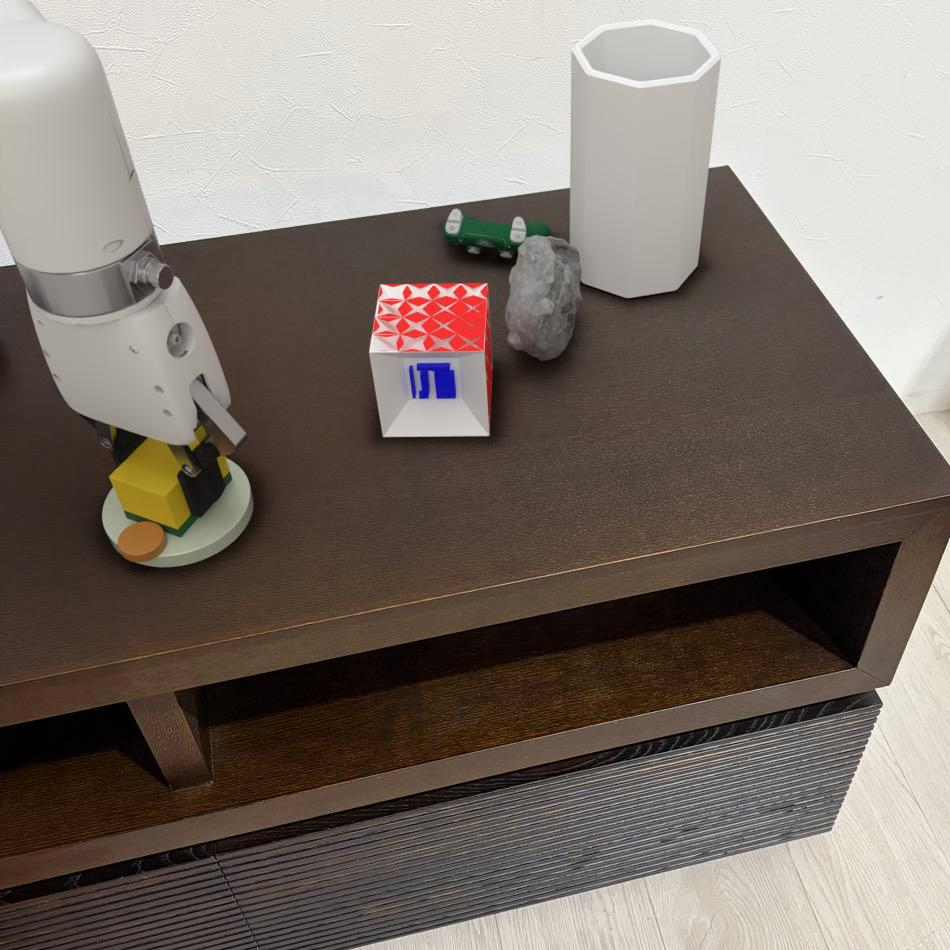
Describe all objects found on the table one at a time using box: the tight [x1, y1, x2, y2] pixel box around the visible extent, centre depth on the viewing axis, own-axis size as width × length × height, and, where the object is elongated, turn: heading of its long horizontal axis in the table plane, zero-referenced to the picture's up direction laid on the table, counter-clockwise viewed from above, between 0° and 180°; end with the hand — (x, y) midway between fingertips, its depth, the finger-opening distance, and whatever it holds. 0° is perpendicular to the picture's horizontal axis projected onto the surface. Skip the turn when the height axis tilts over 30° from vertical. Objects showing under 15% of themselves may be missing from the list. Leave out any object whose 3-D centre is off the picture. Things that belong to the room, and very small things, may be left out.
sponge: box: [108, 436, 232, 537], centre depth 74 cm, size 6×4×4 cm
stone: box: [504, 235, 583, 362], centre depth 84 cm, size 9×7×10 cm
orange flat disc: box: [117, 521, 167, 563], centre depth 72 cm, size 3×3×1 cm
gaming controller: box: [442, 208, 552, 259], centre depth 96 cm, size 9×4×6 cm
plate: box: [101, 457, 255, 568], centre depth 76 cm, size 10×10×1 cm
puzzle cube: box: [368, 282, 494, 438], centre depth 81 cm, size 8×8×8 cm
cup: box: [569, 18, 722, 299], centre depth 89 cm, size 11×11×18 cm
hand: (176, 489), depth 75 cm, fingers closed on sponge, 4 cm apart
